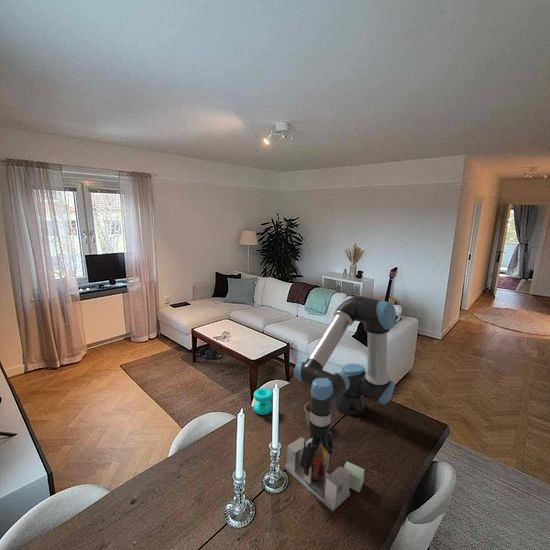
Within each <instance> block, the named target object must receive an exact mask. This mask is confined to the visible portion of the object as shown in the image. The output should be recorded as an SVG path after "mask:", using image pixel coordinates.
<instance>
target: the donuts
mask: <svg viewBox="0 0 550 550" xmlns="http://www.w3.org/2000/svg"><path fill="white" fill-rule="evenodd" d="M272 393H273V391H271V389H268V388H264V387H262V388H258V389H256V390H255V391H254V393H253V398H254V401H255V400H256V402H255V403H254V404H253V406H252V407H253V411H254V413H256V414H257V415H261V416H265V415H268V414H270V413H271V412H272V411H273V409H272V407H273V404H272V403H271V400H272V399H273V398H272Z"/></svg>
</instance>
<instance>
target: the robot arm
mask: <svg viewBox="0 0 550 550" xmlns="http://www.w3.org/2000/svg"><path fill="white" fill-rule="evenodd" d="M396 311H397V310H396V308H395V306H394V305H393V304H392V302H388V301H386V300H380V299H375V298H370V297H364V296H362V295H361V296H360V295H358V296H357V295H356V296H353V297H350V298H348V299H346V300H345V301H343V302H342V303H340V305H339V306H338V307H337V308H336V309H335V311H334V313H333V318H332V320H331V321H330V323H329V324H328V326H327V327H326V329H325V331H324V332H323V334H322V335H321V337H320V339H319V340H318V342H317V343H316V344H315V347H314V348H313V350H312V352H311V353H310V354H309V356H308V358H307V359H306V360H305V361H299V362H297V363H296V364H295V367H294V369H293V375H294V378H295V379H297V380H298V381H300V382H301V383H303V384H307V385H309V386H311V389H310V403H311V406H310V421H309V426H308V429H309V432H310V436H309V439H308V440H307V439H305V441H304V448H303V453H302V457H301V462H300V466H301V467H302V468H303V469H304V480H306V481H307V482H308V483H309V484H310V483H311V472H312V467H311V463H312V461H313V458H314V455H315V452H316V450H318V448H319V445H320V444H322V446H323V447H324V448H325V449H327V450H328V451H329V455H328V457H327V460H326V470H328V469H329V462H330V455H332V454H333V450H334V449H335V444H334V435H333V431H334V429H333V427H331V421H332V420H331V418H332V417H331V416H332V405H333V404H332V403H334V401H335V403H334V404H335V407H336V409H337V410H338V411H340V413H342V414H343V415H348V416H360V415H362V414H363V413H364V412H365V407H366V405H365V402H364V397H365V398H368V399H370V400H372V401H374V402H376V403H378V404H379V403H380V404H382V405H386V404H388V403H389V402H390V400H391V398H392V396H393V393H394V390H395V385H396V383H395V382H394V381H393V380H391V375H390V374H389V373H388V333H389V332H390V331H391V330H393V328H394V326H395V325H396V319H397V312H396ZM355 322H359V323H363V329H364V331H366V332H367V334H366V335H367V371H366V368H365V367H364V366H363V364H362V365H361V364H360V363H359V364H358V363H348V364H345V365H343V366H342V368H341V371H338V372H335V373H332V372H329V371H327V370H324V367H325V366H326V365H327V363H328V361H329V359H330V358H331V356H332V354H333V353H334V350H336V348H337V346H338V344H339V343H340V340H341V339H342V338H343V336H344V334H345V333H346V331H347V329H348V327H351V326H353V324H354V323H355ZM312 443H313V444H314V445H315V446H316V447H315V446H314V445H313V444H312Z"/></svg>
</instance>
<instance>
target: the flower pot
mask: <svg viewBox="0 0 550 550" xmlns="http://www.w3.org/2000/svg"><path fill="white" fill-rule="evenodd" d="M310 406H311V402H307V403H306V404H305V405H304V411H305V417H306V419H305V420H306V424H307V427H309V421H310Z"/></svg>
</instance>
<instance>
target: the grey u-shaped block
mask: <svg viewBox="0 0 550 550" xmlns="http://www.w3.org/2000/svg"><path fill="white" fill-rule="evenodd" d="M305 440H306V439H305V438H304V437H302V436H301V437H299V438H297V439H296V440H295V441H293V442H291V443H290V444H288V445H287V446H286V447H287V449H286V450H287V451H286V463H285V464H284V469H285V471H287V472H288V473H290V475H292V476H293V477H294V478H295V479H296V481H297V480H298V482H299V483H301V485H303V486H304V487H305V488H306V489H307V490H308V491H309V492H310V493H311V494H313V495H314V496H315V497H316V498H317V499H318V500H319V501H321V503H322V504H323V505H325V506H326V507H327V508H328V509H329V511H331V512H335V510H337V509H338V507H339V506H340V505H341V504H342V503H344V501H346V500H347V499H348V498H349V497H350V495H351V491H350V488H349V485H350V473H349V472H347V471H346V470H345V469H343V467H342V466H341V465H340V466H338V467H337V468H336V469H335V470H334V471H332V472H331V473H330V474H329V473H328V472H327V471H326V473H325V476H324V478H323V479H321V480H319V481H317V480H313V479H311V483H310V484H309V483H308V482H307V481H306V480H304V469H303V468H302V467H301V466H300V462H301V457H302V453H303V448H304V441H305Z"/></svg>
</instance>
